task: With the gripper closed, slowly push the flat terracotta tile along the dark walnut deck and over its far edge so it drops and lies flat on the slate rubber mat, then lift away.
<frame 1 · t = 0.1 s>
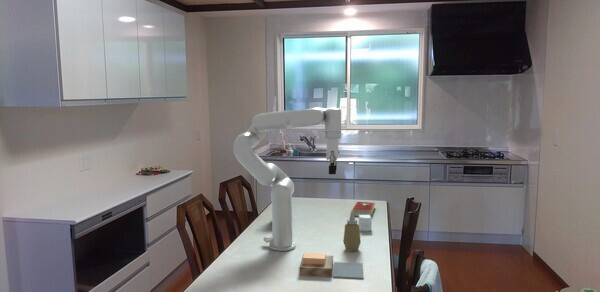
hand: (332, 172, 189), 37 cm above the table, tool pointing down, fingers open, 9 cm apart
mat: (348, 270, 169), on the table
deck: (316, 269, 171), on the table
portable speaker: (280, 221, 237), on the table
hardcover book: (363, 212, 255), on the table
squeeze bottle: (351, 249, 192), on the table
skincare box: (364, 229, 221), on the table
tile: (314, 261, 170), point 3 cm above the table, touching deck
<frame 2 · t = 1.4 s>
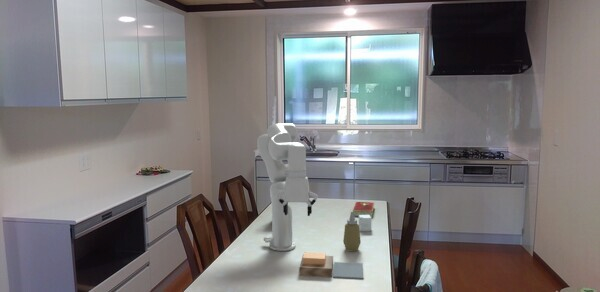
hand: (297, 214, 171), 22 cm above the table, tool pointing down, fingers open, 9 cm apart
nothing on the table moved.
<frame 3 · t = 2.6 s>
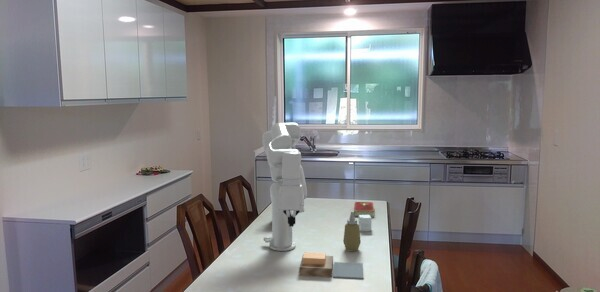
hand: (291, 225, 169), 19 cm above the table, tool pointing down, fingers closed
nothing on the table moved.
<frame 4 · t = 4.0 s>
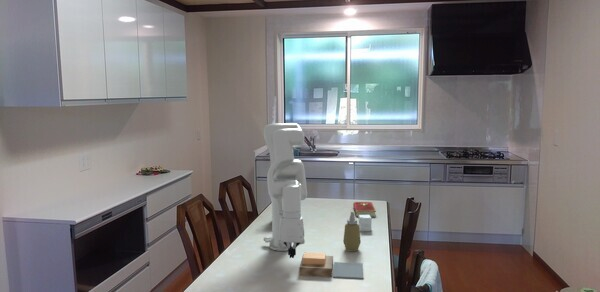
hand: (292, 256, 171), 5 cm above the table, tool pointing down, fingers closed
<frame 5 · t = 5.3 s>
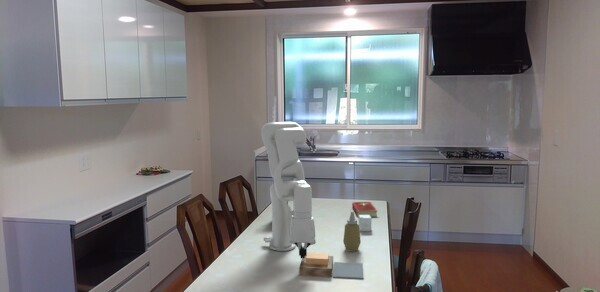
hand: (302, 257, 171), 5 cm above the table, tool pointing down, fingers closed
tile: (317, 261, 170), point 3 cm above the table, touching deck
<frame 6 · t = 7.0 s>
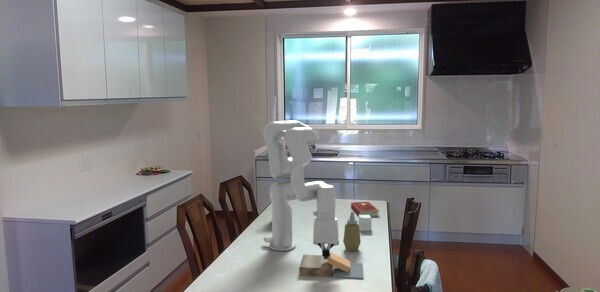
hand: (325, 258, 169), 5 cm above the table, tool pointing down, fingers closed
tile: (337, 264, 169), point 3 cm above the table, tilted 25°, touching gripper
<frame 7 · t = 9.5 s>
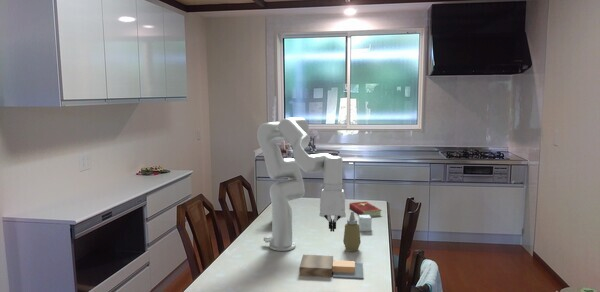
hand: (332, 230, 168), 17 cm above the table, tool pointing down, fingers closed
tile: (343, 269, 169), point 1 cm above the table, touching mat
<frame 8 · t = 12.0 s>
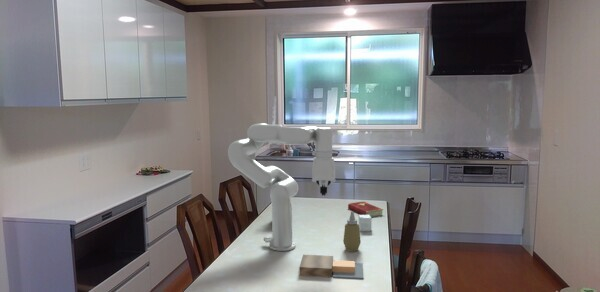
hand: (323, 194, 186), 27 cm above the table, tool pointing down, fingers closed
at the end: tile inside the target area (2.2 cm from its centre), point 0.6 cm above the table; tile tilted 0°; tile touching mat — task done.
